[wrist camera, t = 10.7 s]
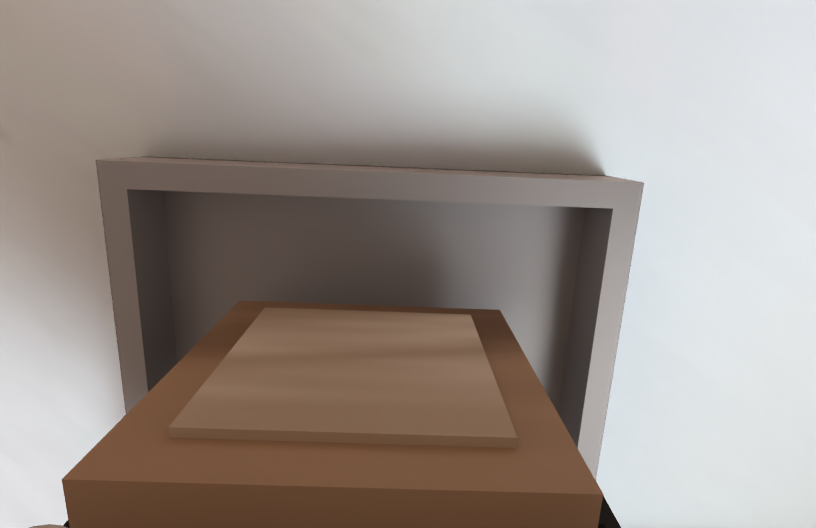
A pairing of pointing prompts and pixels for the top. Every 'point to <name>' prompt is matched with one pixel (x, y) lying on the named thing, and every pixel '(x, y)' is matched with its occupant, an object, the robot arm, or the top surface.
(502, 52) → the top surface
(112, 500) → the letter block
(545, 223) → the grey tray
